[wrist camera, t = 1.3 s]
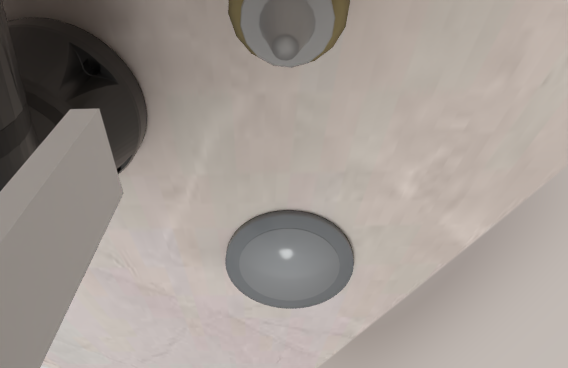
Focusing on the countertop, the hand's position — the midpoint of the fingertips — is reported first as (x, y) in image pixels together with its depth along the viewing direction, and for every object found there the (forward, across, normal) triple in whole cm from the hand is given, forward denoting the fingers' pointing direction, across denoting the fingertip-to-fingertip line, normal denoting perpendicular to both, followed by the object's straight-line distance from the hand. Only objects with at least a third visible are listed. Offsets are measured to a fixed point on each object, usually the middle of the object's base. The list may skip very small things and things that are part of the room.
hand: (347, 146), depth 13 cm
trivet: (+26, -2, -30) cm, 40 cm away
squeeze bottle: (+27, -1, 0) cm, 27 cm away
